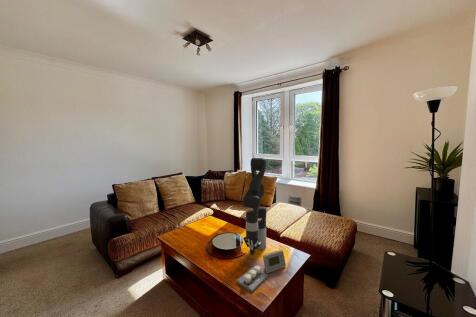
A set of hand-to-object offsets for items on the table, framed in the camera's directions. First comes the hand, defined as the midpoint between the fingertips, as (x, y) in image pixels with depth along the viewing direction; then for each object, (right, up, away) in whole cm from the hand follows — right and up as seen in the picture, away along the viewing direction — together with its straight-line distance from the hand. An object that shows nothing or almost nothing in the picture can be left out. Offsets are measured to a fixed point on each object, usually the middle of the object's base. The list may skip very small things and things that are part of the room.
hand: (252, 254), depth 121 cm
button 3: (+4, -15, +6) cm, 16 cm away
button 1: (-3, -16, -2) cm, 16 cm away
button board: (0, -17, +2) cm, 17 cm away
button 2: (0, -15, +2) cm, 15 cm away
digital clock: (+16, -16, +12) cm, 25 cm away
